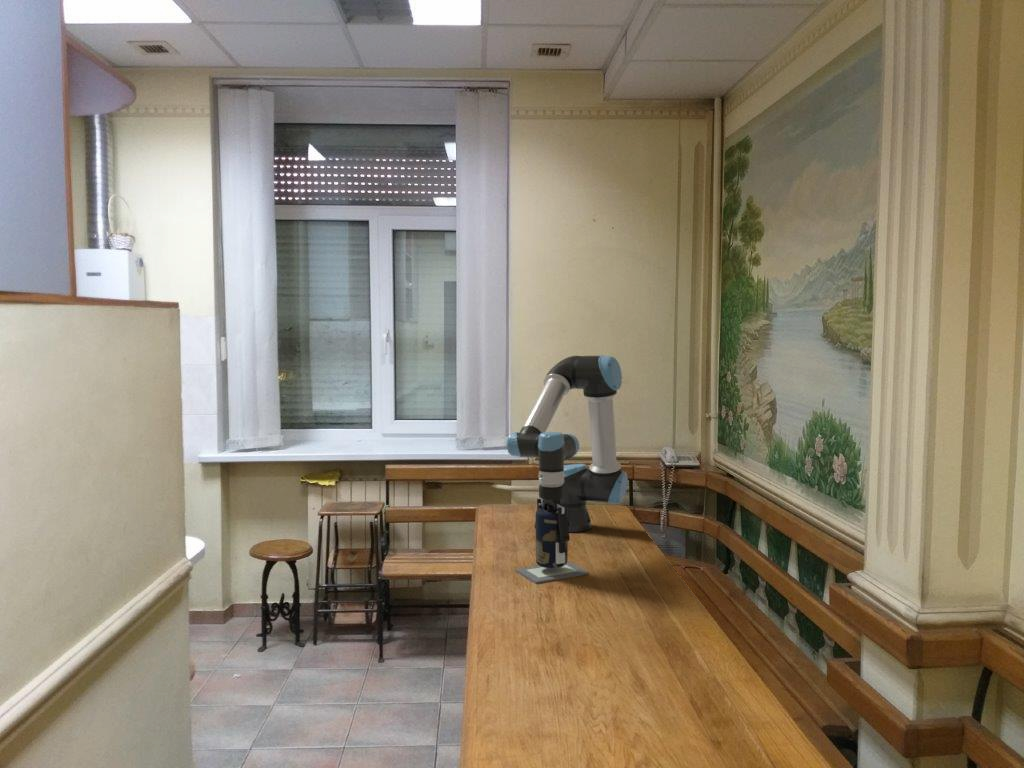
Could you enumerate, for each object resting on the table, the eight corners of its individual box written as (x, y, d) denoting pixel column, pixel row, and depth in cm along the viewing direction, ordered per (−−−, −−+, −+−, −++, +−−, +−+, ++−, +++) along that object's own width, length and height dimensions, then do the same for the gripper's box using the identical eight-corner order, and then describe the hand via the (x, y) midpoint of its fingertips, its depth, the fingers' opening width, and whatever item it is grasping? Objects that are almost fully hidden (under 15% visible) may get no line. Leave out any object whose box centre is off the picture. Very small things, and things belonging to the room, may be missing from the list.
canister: (568, 560, 221) (567, 502, 220) (567, 570, 211) (567, 510, 210) (536, 560, 222) (536, 502, 221) (534, 570, 212) (534, 509, 211)
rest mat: (566, 562, 226) (566, 560, 226) (588, 574, 215) (588, 571, 215) (515, 570, 218) (515, 568, 218) (535, 583, 207) (535, 581, 207)
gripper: (523, 479, 223) (523, 550, 225) (559, 492, 203) (559, 570, 205) (544, 477, 227) (544, 547, 228) (581, 490, 207) (582, 566, 208)
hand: (551, 558), depth 216 cm, fingers closed on canister, 9 cm apart
